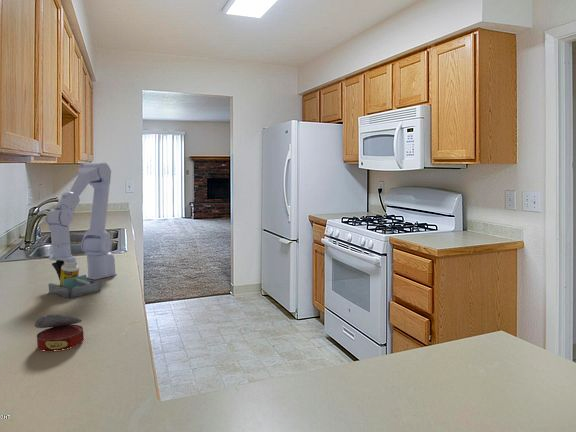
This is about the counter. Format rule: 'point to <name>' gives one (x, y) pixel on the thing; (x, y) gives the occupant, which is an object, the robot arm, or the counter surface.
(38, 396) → the counter surface
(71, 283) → the pusher
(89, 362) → the counter surface
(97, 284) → the grey piece
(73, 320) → the canned food
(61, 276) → the supplement bottle
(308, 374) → the counter surface
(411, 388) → the counter surface
